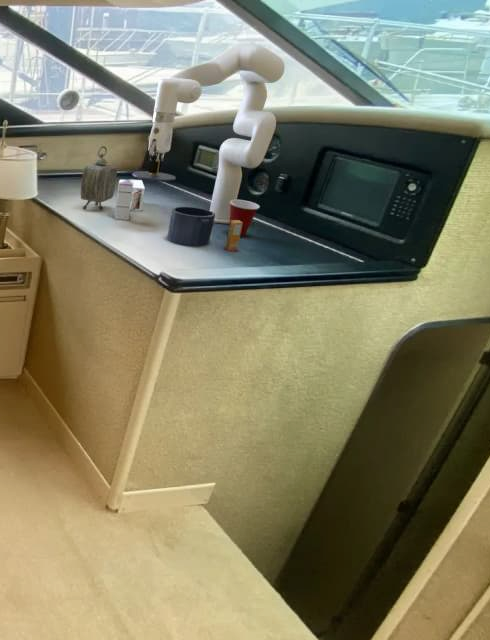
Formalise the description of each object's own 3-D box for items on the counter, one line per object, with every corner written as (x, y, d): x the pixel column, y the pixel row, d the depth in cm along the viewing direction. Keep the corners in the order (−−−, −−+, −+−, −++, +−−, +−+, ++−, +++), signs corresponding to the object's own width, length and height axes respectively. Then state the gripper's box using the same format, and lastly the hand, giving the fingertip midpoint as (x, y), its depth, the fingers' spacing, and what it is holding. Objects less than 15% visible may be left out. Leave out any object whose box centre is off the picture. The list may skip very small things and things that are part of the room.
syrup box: (128, 220, 240) (134, 182, 233) (113, 218, 240) (118, 181, 234) (128, 217, 245) (134, 180, 238) (114, 215, 245) (119, 178, 238)
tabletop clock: (94, 204, 262) (102, 143, 250) (113, 208, 257) (121, 146, 245) (78, 209, 251) (85, 146, 239) (97, 213, 247) (105, 149, 235)
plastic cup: (238, 239, 222) (246, 207, 216) (216, 232, 230) (223, 200, 224) (258, 237, 226) (266, 205, 221) (236, 230, 235) (244, 198, 229)
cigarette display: (126, 200, 272) (129, 179, 267) (138, 201, 271) (141, 180, 267) (128, 210, 254) (131, 188, 250) (141, 211, 254) (145, 189, 249)
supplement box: (223, 248, 211) (230, 219, 206) (233, 248, 211) (240, 220, 207) (227, 251, 208) (234, 222, 203) (237, 251, 208) (244, 222, 204)
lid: (164, 174, 229) (168, 156, 225) (182, 183, 215) (185, 163, 212) (126, 173, 226) (128, 155, 223) (141, 182, 212) (144, 162, 209)
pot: (194, 233, 227) (200, 205, 222) (219, 248, 210) (226, 218, 205) (158, 232, 225) (163, 204, 220) (180, 248, 207) (186, 218, 202)
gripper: (164, 120, 203) (155, 176, 212) (182, 118, 215) (172, 171, 224) (144, 117, 207) (135, 173, 215) (162, 115, 218) (153, 168, 227)
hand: (154, 171), depth 219 cm, fingers closed on lid, 2 cm apart
